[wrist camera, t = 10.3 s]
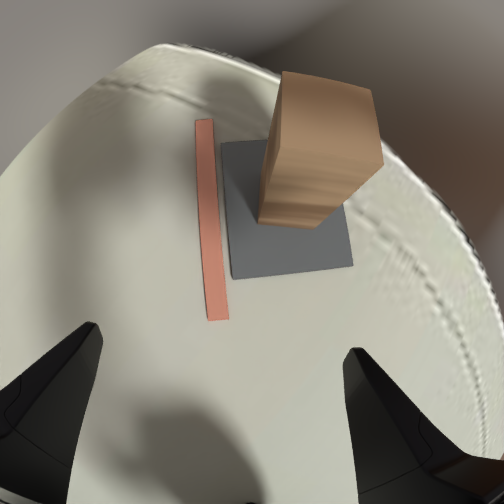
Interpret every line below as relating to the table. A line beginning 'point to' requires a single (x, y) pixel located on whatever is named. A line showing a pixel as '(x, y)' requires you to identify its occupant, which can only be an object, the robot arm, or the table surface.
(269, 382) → the table surface
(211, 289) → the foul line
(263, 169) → the walnut block
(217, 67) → the table surface
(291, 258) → the mat
